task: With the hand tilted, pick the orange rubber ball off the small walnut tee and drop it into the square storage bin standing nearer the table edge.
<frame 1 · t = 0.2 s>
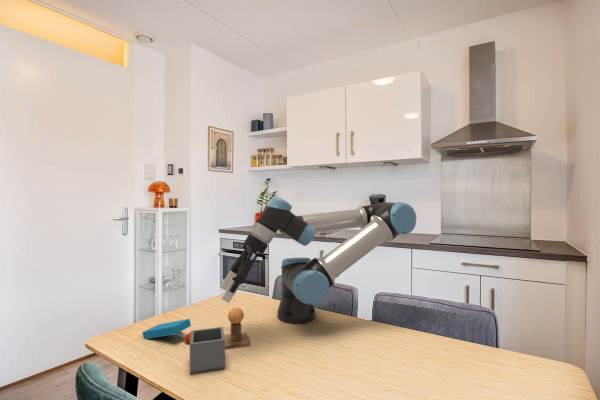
hand: (224, 294, 101), 15 cm above the table, tool tilted 35°, fingers open, 13 cm apart
lever: (171, 339, 103), on the table
tee: (236, 341, 100), on the table
square storage bin: (207, 363, 87), on the table
ball: (235, 315, 100), point 8 cm above the table, touching tee
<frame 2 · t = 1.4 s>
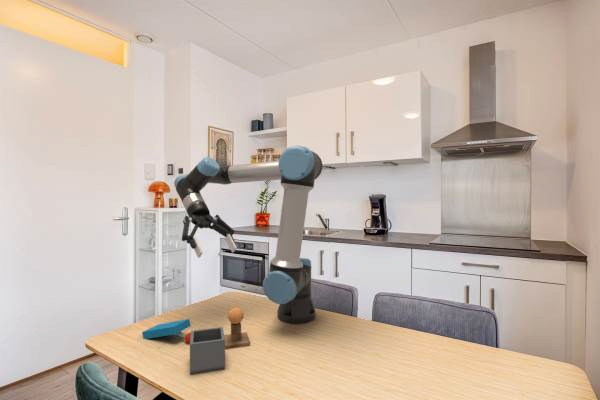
hand: (218, 252, 107), 28 cm above the table, tool tilted 45°, fingers open, 13 cm apart
nothing on the table moved.
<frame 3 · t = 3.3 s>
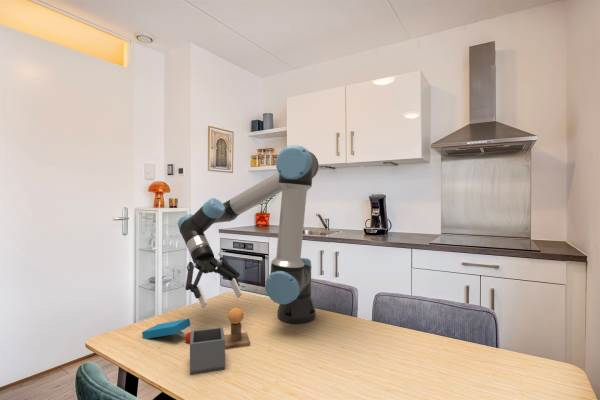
hand: (223, 300, 104), 12 cm above the table, tool tilted 45°, fingers open, 13 cm apart
nothing on the table moved.
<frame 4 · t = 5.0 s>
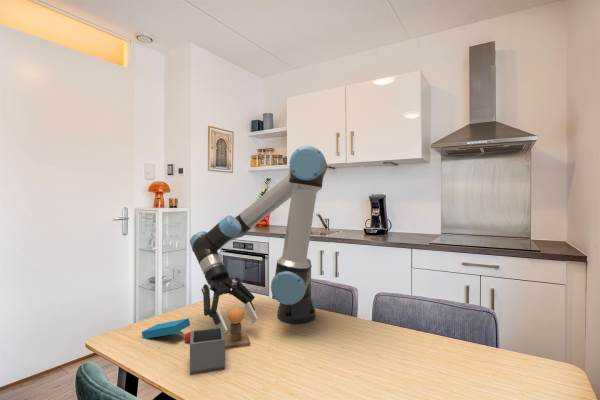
hand: (240, 326, 98), 6 cm above the table, tool tilted 45°, fingers open, 11 cm apart
nothing on the table moved.
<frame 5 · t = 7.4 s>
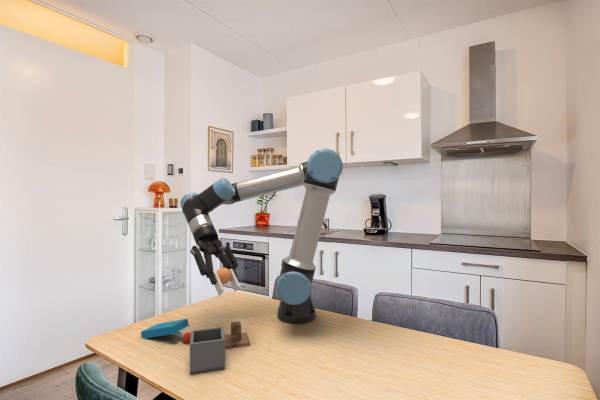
hand: (229, 290, 94), 19 cm above the table, tool tilted 45°, fingers closed on ball, 5 cm apart
ball: (223, 275, 96), point 22 cm above the table, touching gripper
everything else where it was.
when the fingers open (10 cm above the table, at t = 9.1 s): ball drops 11 cm, resting on square storage bin.
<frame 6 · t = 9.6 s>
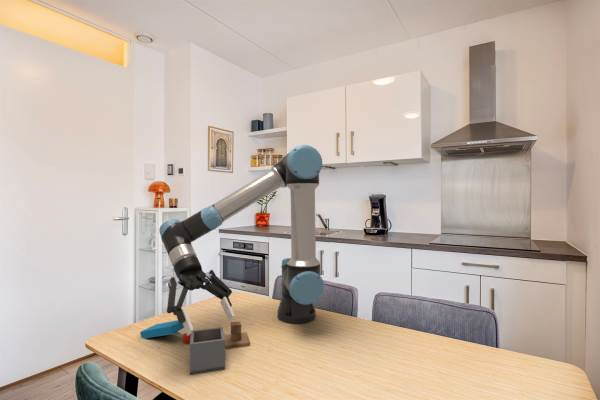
hand: (212, 325, 85), 11 cm above the table, tool tilted 45°, fingers open, 12 cm apart
ball: (206, 351, 87), point 3 cm above the table, tilted 7°, touching square storage bin
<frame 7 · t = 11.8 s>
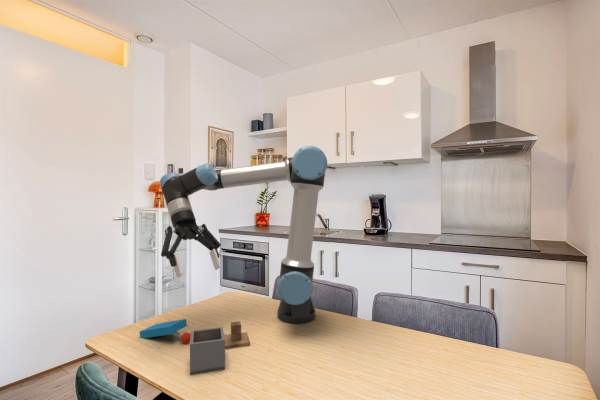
hand: (200, 271, 98), 23 cm above the table, tool tilted 35°, fingers open, 13 cm apart
ball: (203, 352, 87), point 3 cm above the table, tilted 28°, touching square storage bin
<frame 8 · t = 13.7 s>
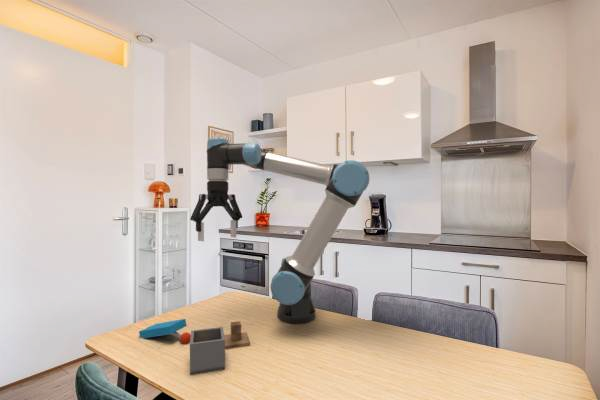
hand: (217, 239, 113), 32 cm above the table, tool pointing down, fingers open, 13 cm apart
at the end: ball 1.2 cm off-centre on the square storage bin, point 3.3 cm above the square storage bin's base; the gripper is holding nothing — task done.
